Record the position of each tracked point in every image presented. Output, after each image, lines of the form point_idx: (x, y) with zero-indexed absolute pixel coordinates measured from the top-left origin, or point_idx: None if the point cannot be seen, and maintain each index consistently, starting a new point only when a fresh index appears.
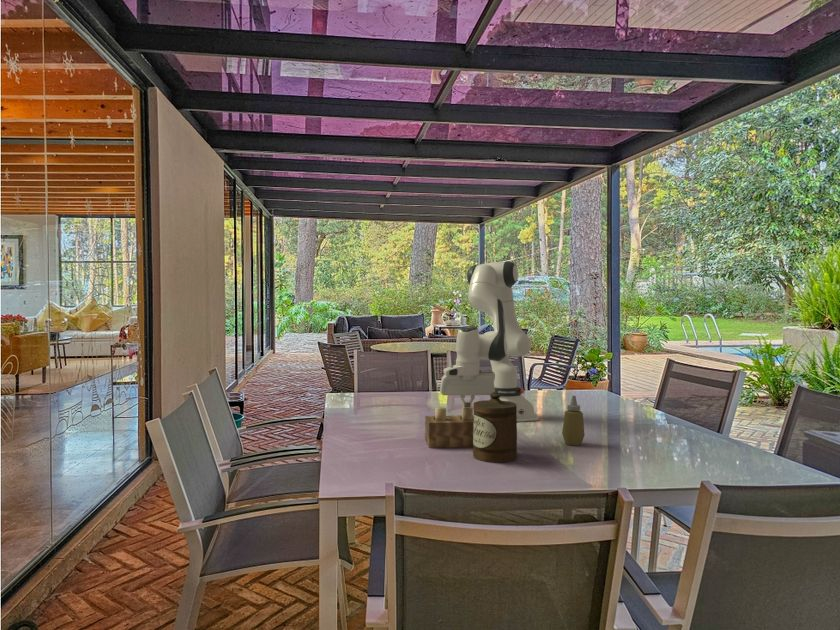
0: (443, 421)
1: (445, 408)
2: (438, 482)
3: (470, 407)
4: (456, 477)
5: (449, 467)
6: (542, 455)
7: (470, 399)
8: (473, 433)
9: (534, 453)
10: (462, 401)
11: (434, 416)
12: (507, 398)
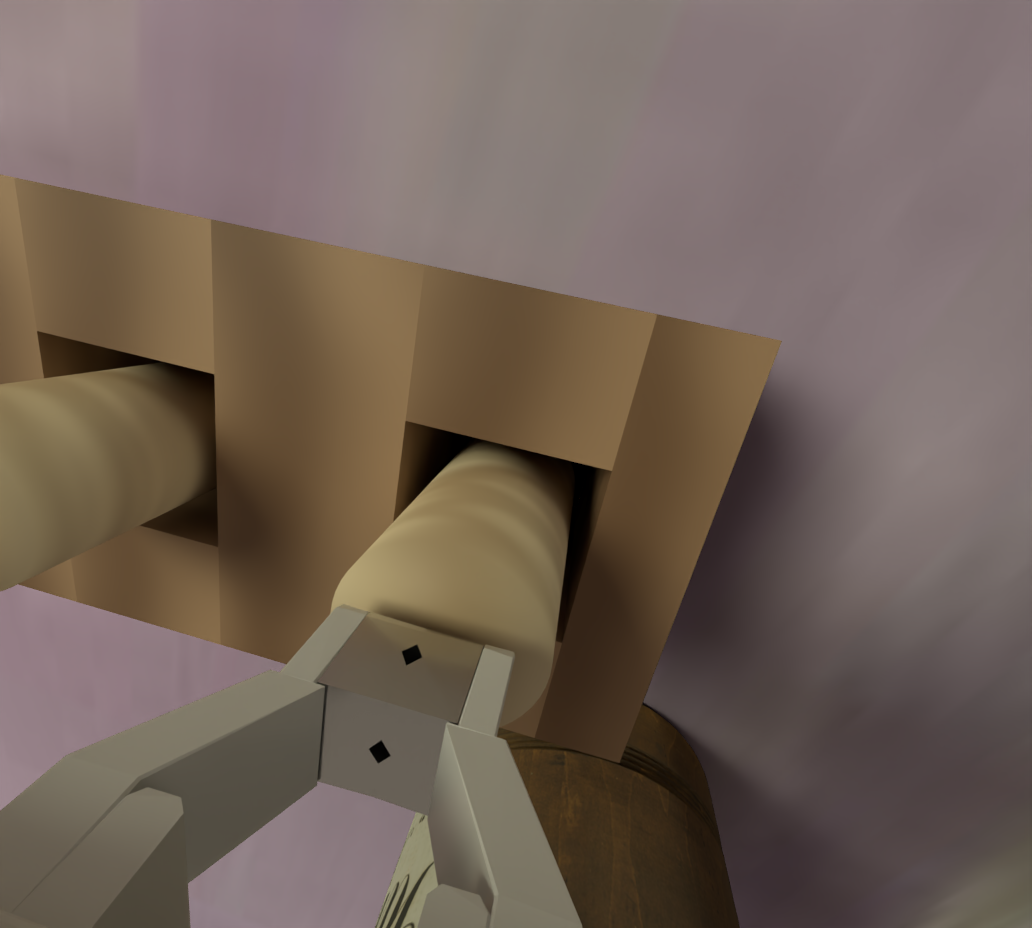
0: (156, 575)
1: (22, 542)
2: (205, 922)
3: (523, 623)
4: (277, 915)
5: (274, 822)
6: (878, 880)
7: (460, 837)
8: (381, 909)
9: (862, 835)
10: (250, 699)
11: (53, 241)
12: None
